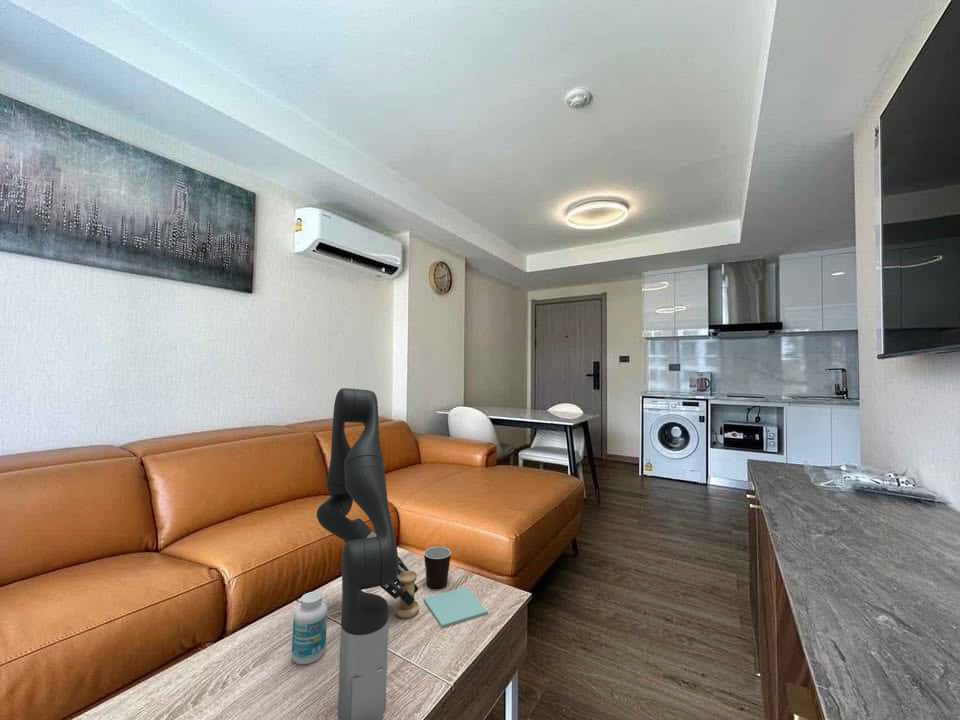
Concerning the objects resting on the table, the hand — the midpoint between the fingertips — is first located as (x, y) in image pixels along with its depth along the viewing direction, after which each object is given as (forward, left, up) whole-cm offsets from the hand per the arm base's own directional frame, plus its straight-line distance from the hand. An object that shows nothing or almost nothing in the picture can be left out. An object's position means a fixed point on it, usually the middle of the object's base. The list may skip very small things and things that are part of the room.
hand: (413, 596), depth 110 cm
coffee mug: (+12, -12, -4) cm, 18 cm away
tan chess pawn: (+1, +2, -4) cm, 4 cm away
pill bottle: (-5, +28, -4) cm, 28 cm away
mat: (-3, -11, -4) cm, 12 cm away
